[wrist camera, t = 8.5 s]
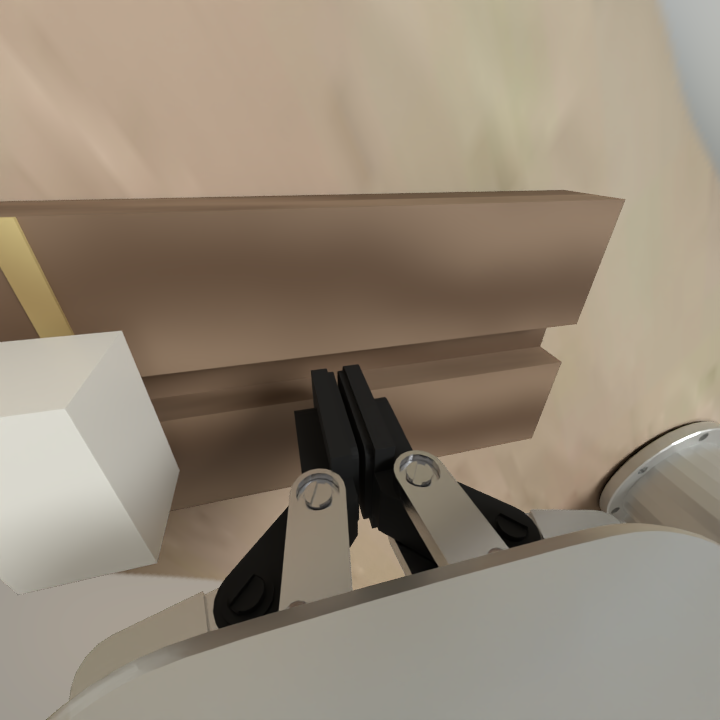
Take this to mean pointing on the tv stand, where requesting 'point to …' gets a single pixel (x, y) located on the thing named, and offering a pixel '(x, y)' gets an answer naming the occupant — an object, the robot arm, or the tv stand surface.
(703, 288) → the tv stand surface
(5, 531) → the fader knob
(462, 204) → the fader console
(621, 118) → the tv stand surface
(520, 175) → the tv stand surface
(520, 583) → the robot arm
